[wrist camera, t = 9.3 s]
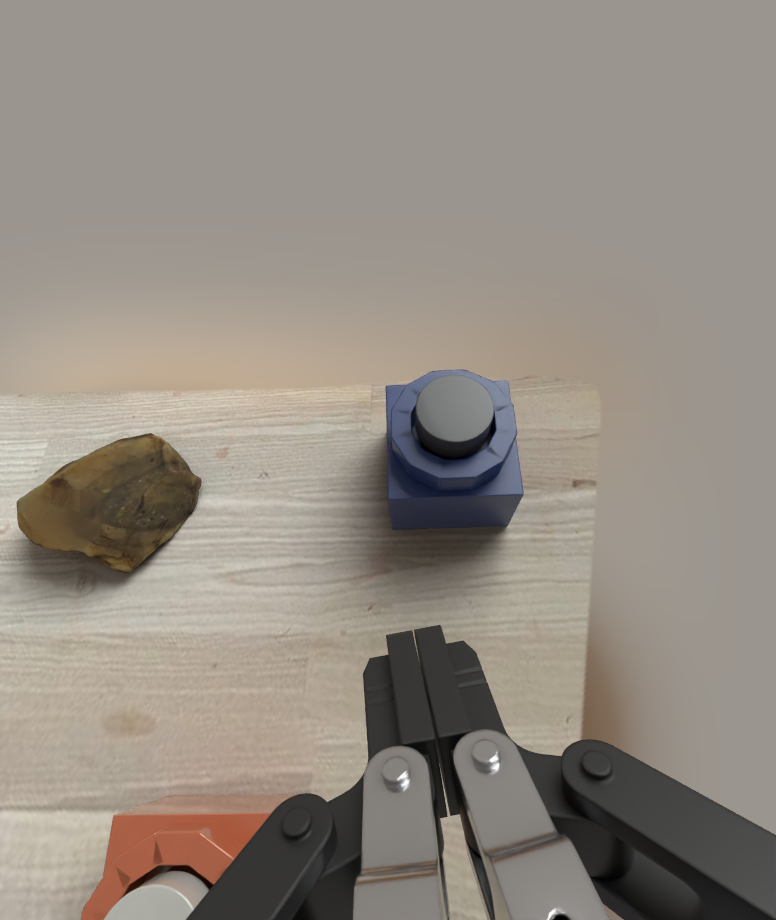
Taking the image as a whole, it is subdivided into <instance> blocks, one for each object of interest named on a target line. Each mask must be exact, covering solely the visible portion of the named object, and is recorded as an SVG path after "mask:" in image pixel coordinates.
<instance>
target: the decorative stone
mask: <svg viewBox="0 0 776 920" xmlns="http://www.w3.org/2000/svg"><path fill="white" fill-rule="evenodd" d="M200 486H201V478H199V477H197V476H195V475H194V474H193V473H192V472H191V471H190V468H189V466H188V464H187V463H186V462H185V461H184V459H183V458H182V457H181V456H180V455H179V453H178V452H177V451H176V450H174V449H173V448H172V446H171V445H170V444H168V443H167V442H166V441H165V440H163V439H162V438H160V437H158V436H155V435H153V434H151V433H149V434H144V435H140V436H136V437H131V438H124V439H120V440H118V441H115V442H113V443H111V444H109V445H106V446H104V447H102V448H100V449H97V450H95V451H94V452H92V453H90V454H89V455H87V456H84V457H82V458H80V459H78V460H75V461H72V462H70V463H68V464H66V465H65V466H63V467H62V468H60V469H59V470H58V471H57V472H55V473H54V475H52V476H51V477H49V478H48V479H47V480H46V481H45V483H44V484H42V485H40V486H38V487H37V488H35V489H33V490H32V491H30V492H29V493H28V494H26V495H25V496H23V497H22V498H20V499H19V500H18V501H17V514H18V517H17V518H18V525H19V528H20V529H21V531H22V532H23V533H24V534H25V535H26V536H27V537H28V538H29V539H30V540H31V541H32V542H33V543H34V544H36V545H38V546H41V547H45V548H49V549H53V550H63V551H78V552H81V553H83V554H85V555H86V556H88V557H92V558H95V559H97V560H98V561H99V562H101V563H102V564H103V565H105V566H106V567H108V568H110V569H113V570H115V571H118V572H123V573H129V572H131V571H132V570H134V569H135V568H136V567H137V566H139V565H140V564H141V563H142V562H143V561H144V560H145V559H146V558H147V557H148V556H149V555H150V554H151V553H153V552H154V551H155V550H156V549H157V547H159V546H160V545H161V544H162V543H164V542H166V541H168V540H169V539H170V538H171V537H172V536H173V535H174V533H175V532H176V531H177V530H178V529H179V527H180V526H181V524H182V523H183V522H184V521H185V520H186V519H187V517H188V515H189V514H190V513H191V512H192V511H193V510H194V508H195V506H196V503H197V499H198V490H199V488H200Z"/></svg>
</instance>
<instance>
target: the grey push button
mask: <svg viewBox="0 0 776 920" xmlns="http://www.w3.org/2000/svg"><path fill="white" fill-rule="evenodd" d="M493 416H494V403H493V400H492V397H491V395H490V394H489V392H488V391H487V389H486V388H485V387H484V386H483V385H481V384H480V383H479V382H477V381H476V380H474V379H472V378H469V377H466V376H461V375H447V376H442V377H439V378H437V379H435V380H433V381H431V382H430V383H428V384H427V385H426V386H425V387H424V388H423V389H422V391H421V392H420V394H419V396H418V398H417V401H416V431H417V435H418V437H419V439H420V441H421V442H422V443H423V445H424V446H425V447H426V448H427V449H429V450H430V451H432V452H433V453H435V454H437V455H440V456H443V457H449V458H459V457H464V456H467V455H470V454H472V453H474V452H475V451H477V450H478V449H479V448H480V447H482V445H483V444H484V443H485V441H486V440H487V437H488V435H489V431H490V428H491V424H492V420H493Z"/></svg>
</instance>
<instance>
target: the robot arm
mask: <svg viewBox="0 0 776 920" xmlns="http://www.w3.org/2000/svg"><path fill="white" fill-rule="evenodd" d="M414 632H415V639H416V645H417V651H418V656H417V651H416V646H415V642H414V637H413V632H412V630H410V631H405V632H400V633H394V634H389V635H386V639H387V646H388V653H389V655H385V656H380V657H374V658H370V659H369V661H368V664H367V666H366V668H365V670H364V673H363V681H364V692H365V693H364V696H365V711H366V726H367V741H368V764H367V767H366V769H365V772H364V774H363V776H362V777H361V779H360V780H359V781H358V782H357V783H356V784H355V786H353V787H352V788H351V789H350V790H348V791H347V792H345V793H344V794H342V795H340V796H338V797H336V798H334V799H332V800H331V801H329V802H326V801H325V800H324V799H323V798H321V797H320V796H318V795H315V794H307V793H305V794H298V795H295V796H292V797H290V798H288V799H287V800H285V801H283V802H282V803H281V804H280V805H278V806H277V807H276V808H275V810H274V811H273V812H272V813H271V814H270V816H269V817H268V818H267V819H266V820H265V822H264V823H263V824H262V825H261V827H260V828H259V829H258V830H257V832H256V833H255V834H254V835H253V837H252V838H251V839H250V840H249V842H248V843H247V844H246V845H245V847H244V848H243V849H242V850H241V852H240V853H239V854H238V855H237V856H236V858H235V859H234V860H233V861H232V863H231V864H230V865H229V866H228V868H227V869H226V870H225V871H224V873H223V874H222V875H221V876H220V878H219V879H218V880H217V881H216V883H215V884H214V885H213V886H212V888H211V889H210V890H209V891H208V893H207V894H206V895H205V896H204V897H203V899H202V900H201V901H200V902H199V904H198V905H197V906H196V907H195V909H194V910H193V911H192V912H191V914H190V915H189V916H188V917H187V919H186V920H450V912H449V903H448V894H447V885H446V876H445V867H444V858H443V850H444V840H443V833H442V827H441V821H440V818H444V817H448V816H447V810H446V804H445V797H444V791H443V785H442V778H443V783H444V788H445V792H446V797H447V802H448V807H449V811H450V816H452V815H457V814H460V817H461V821H462V825H463V830H464V835H465V842H466V848H467V853H468V857H469V860H470V863H471V866H472V870H473V873H474V876H475V880H476V883H477V886H478V890H479V893H480V896H481V899H482V903H483V906H484V909H485V913H486V916H487V919H488V920H610V918H609V916H608V914H607V912H606V909H605V908H604V905H606V906H607V907H608V908H609V909H611V910H612V911H613V912H615V913H616V914H617V915H618V916H620V917H621V918H622V919H624V920H776V835H775V834H772V833H771V832H769V831H767V830H765V829H764V828H762V827H760V826H758V825H756V824H754V823H752V822H751V821H749V820H747V819H745V818H744V817H742V816H740V815H738V814H736V813H734V812H733V811H731V810H729V809H727V808H725V807H723V806H722V805H720V804H718V803H716V802H714V801H713V800H710V799H709V798H707V797H705V796H703V795H702V794H700V793H698V792H696V791H694V790H692V789H691V788H689V787H687V786H685V785H683V784H682V783H680V782H678V781H676V780H674V779H672V778H671V777H669V776H667V775H665V774H663V773H661V772H660V771H658V770H656V769H654V768H652V767H651V766H649V765H647V764H645V763H643V762H641V761H640V760H638V759H636V758H634V757H632V756H631V755H629V754H627V753H625V752H623V751H621V750H620V749H618V748H616V747H614V746H612V745H610V744H608V743H605V742H602V741H598V740H589V739H588V740H581V741H577V742H575V743H572V744H571V745H570V746H568V747H567V748H566V749H565V751H564V752H563V754H562V756H554V755H545V754H538V753H534V752H531V751H528V750H526V749H523V748H522V747H520V746H518V745H517V744H516V743H515V742H513V741H512V739H511V738H510V737H509V736H508V734H507V733H506V731H505V729H504V727H503V724H502V721H501V718H500V716H499V713H498V710H497V708H496V705H495V702H494V700H493V697H492V694H491V692H490V689H489V686H488V683H487V682H486V678H485V675H484V673H483V670H482V667H481V665H480V662H479V659H478V657H477V654H476V652H475V651H474V650H473V649H472V648H471V647H470V646H469V645H467V644H466V643H465V642H464V641H459V642H454V643H448V644H446V642H445V638H444V635H443V632H442V628H441V626H440V625H437V626H431V627H426V628H421V629H415V630H414ZM418 658H419V660H418ZM419 664H420V665H419ZM439 764H440V766H439ZM440 769H441V772H440ZM441 773H442V778H441ZM603 904H604V905H603Z"/></svg>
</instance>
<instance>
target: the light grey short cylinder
mask: <svg viewBox="0 0 776 920" xmlns="http://www.w3.org/2000/svg"><path fill="white" fill-rule="evenodd" d="M208 891H209V889H208V887H207V886H206V885H205V884H204V883H203V882H202V881H201V880H200V879H199V878H197V877H196V876H194V875H192V874H190V873H187V872H183V871H169V872H165V873H161V874H159V875H156V876H154V877H153V878H151V879H149V880H148V881H146V882H145V883H143V884H142V885H140V886H139V887H137V888H135V889H134V890H132V891H131V892H129V893H128V894H126V895H125V896H124V897H122V898H121V899H120V900H119V901H118V902H117V903H116V904H115V905H114V906H113V907H112V909H111V910H110V911H109V912H108V914H107V915H106V917H105V918H104V920H186V919H187V917H188V916H189V915H190V914H191V912H192V911H193V910H194V909H195V907H196V906H197V905H198V904H199V902H200V901H201V900H202V899H203V897H204V896H205V895H206V894H207V893H208Z"/></svg>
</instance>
